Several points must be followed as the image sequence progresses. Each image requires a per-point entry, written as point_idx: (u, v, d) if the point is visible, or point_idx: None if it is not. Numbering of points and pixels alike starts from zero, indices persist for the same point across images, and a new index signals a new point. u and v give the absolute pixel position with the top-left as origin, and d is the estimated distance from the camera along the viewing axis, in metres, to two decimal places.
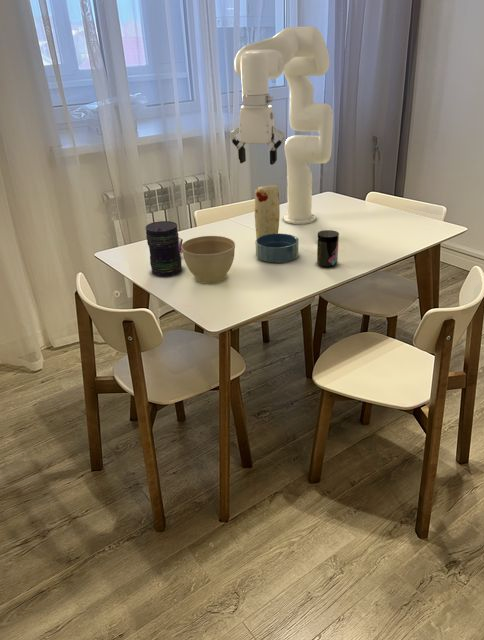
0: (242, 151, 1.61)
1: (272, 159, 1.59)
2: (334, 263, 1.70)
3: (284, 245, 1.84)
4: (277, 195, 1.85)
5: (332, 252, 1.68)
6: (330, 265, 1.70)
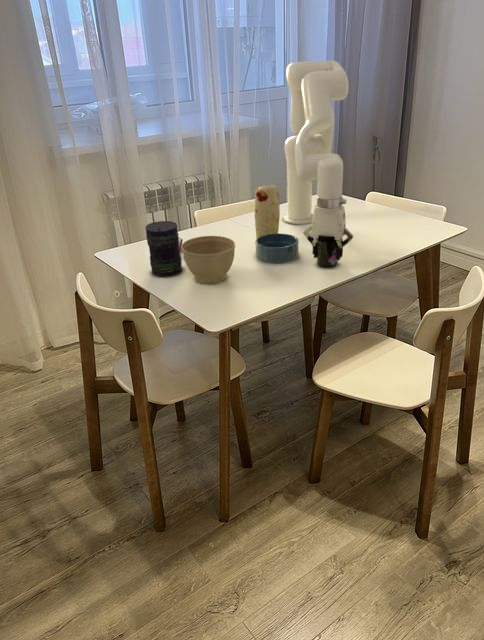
0: (316, 247, 1.71)
1: (339, 255, 1.69)
2: (334, 263, 1.70)
3: (284, 245, 1.84)
4: (277, 195, 1.85)
5: (332, 252, 1.68)
6: (330, 265, 1.70)
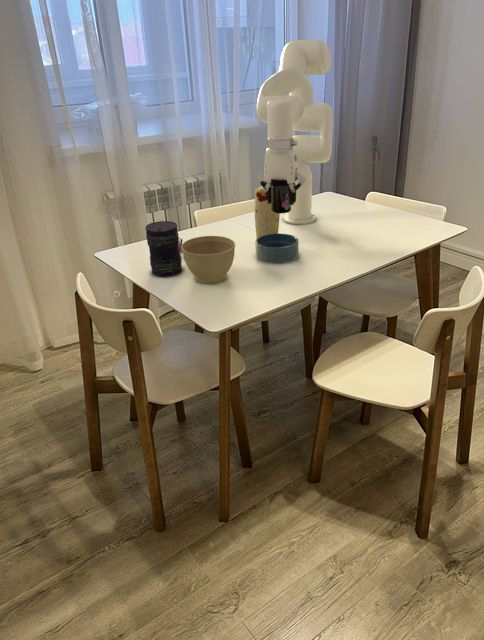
0: (270, 192, 1.70)
1: (292, 200, 1.68)
2: (287, 208, 1.69)
3: (284, 245, 1.84)
4: None
5: (285, 197, 1.67)
6: (283, 210, 1.69)
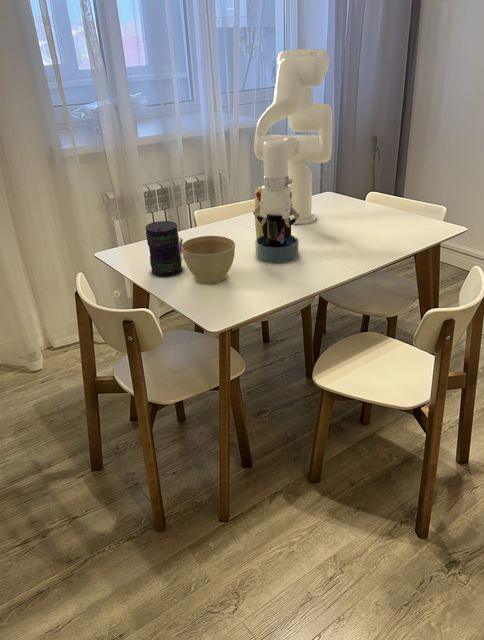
0: (266, 227, 1.76)
1: (287, 234, 1.75)
2: (283, 242, 1.76)
3: (284, 245, 1.84)
4: None
5: (280, 231, 1.73)
6: (279, 244, 1.75)
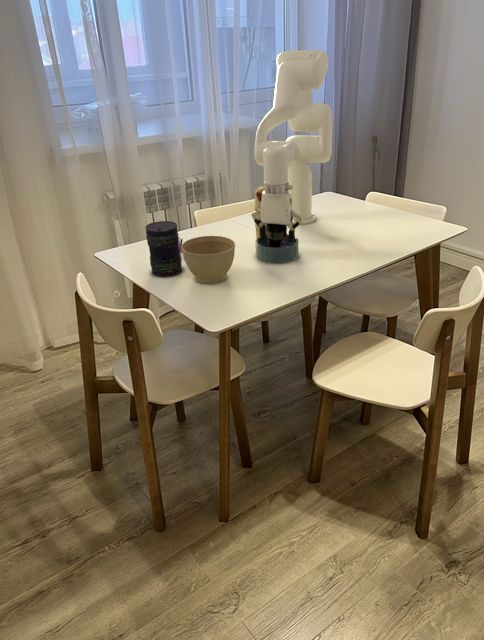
0: (263, 229, 1.78)
1: (291, 238, 1.75)
2: None
3: None
4: None
5: (280, 242, 1.75)
6: None
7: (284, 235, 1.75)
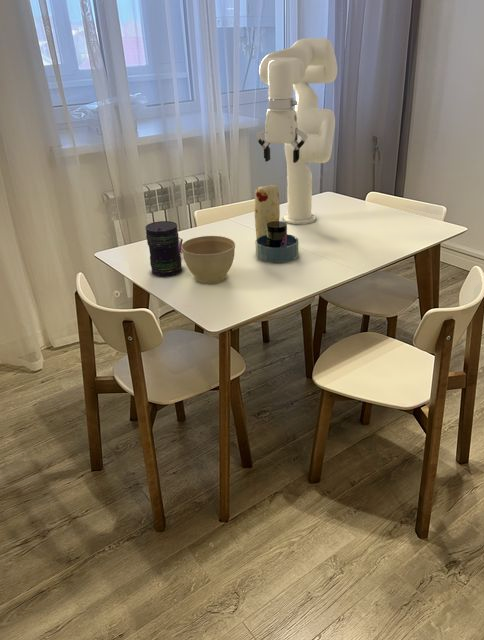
0: (267, 150, 1.76)
1: (295, 158, 1.73)
2: None
3: None
4: (277, 195, 1.85)
5: (280, 242, 1.75)
6: None
7: (284, 235, 1.75)
